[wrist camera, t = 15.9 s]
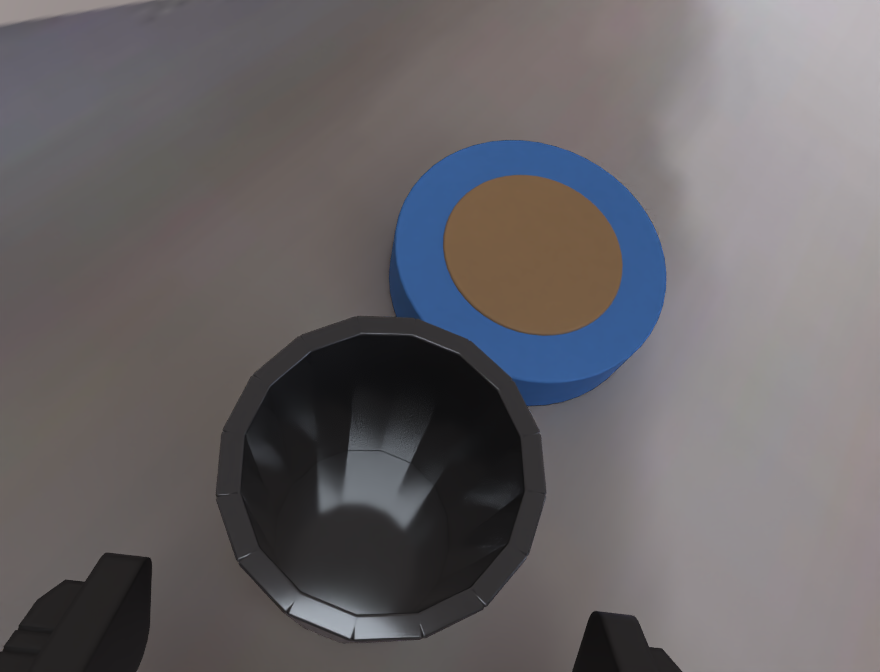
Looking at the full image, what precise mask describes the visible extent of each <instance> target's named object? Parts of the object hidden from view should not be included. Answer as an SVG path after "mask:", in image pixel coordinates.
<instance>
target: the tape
mask: <svg viewBox="0 0 880 672" xmlns="http://www.w3.org/2000/svg"><path fill="white" fill-rule="evenodd" d="M389 283H390V294H391V298H392V303H393V307H394V310H395V313H396V316H397V317H408V318H415V319H420V320H422V321H425V322H427V323H430V324H432V325H434V326H437V327H439V328H442V329H444V330H447V331H449V332H452V333H454V334H457V335H459V336H462V337H464V338H467V339H468V340H469V341H472V342H473V343H474V344H475V345H476V346H477V347H478V348H480V349H481V350H482V351H483V352H484V353H485V354H486V355H487V356H488V357H489V358H490V359H492V360H493V361H494V362H495V363H496V364H497V365H498V366H499V367H500V368H501V369H503V370H504V371H505V372H506V373H507V374H508V375H509V376H510V377H511V378H512V379H513V380H512V381H514V382H515V384H516V386H517V388H518V390H519V392H520V394H521V395H522V397H523V399H524V401H525V403H526V405H527V406H534V405H548V404H553V403H559V402H563V401H566V400H569V399H572V398H575V397H578V396H580V395H582V394H584V393H586V392H588V391H590V390H592V389H594V388H595V387H597V386H598V385H599V384H601V383H602V382H604V381H605V380H606V379H607V378H608V377H609V376H610V375H611V374H612V373H613V372H615V371H616V370H617V369H618V368H619V367H620V366H621V365H622V364H623V363H624V362H625V361H626V360H627V359H628V358H629V357H630V356H631V355H632V354H633V353H634V352H635V351H637V350H638V349H639V348H640V347H641V346H642V344H643V343H644V342H645V340H646V339H647V338H648V336H649V335H650V334H651V332H652V330H653V328H654V326H655V324H656V323H657V321H658V318H659V316H660V313H661V310H662V307H663V303H664V297H665V291H666V267H665V258H664V254H663V250H662V247H661V243H660V240H659V238H658V235H657V233H656V230H655V228H654V226H653V224H652V222H651V221H650V219H649V217H648V215H647V213H646V212H645V211H644V209H643V208H642V206H641V205H640V204H639V202H638V201H637V200H636V198H635V197H634V196H633V195H632V194H631V193H630V192H629V191H628V189H627V188H626V187H624V186H623V185H622V184H621V183H620V182H619V181H618V180H617V179H616V178H615V177H613V176H612V175H611V174H609V173H608V172H606V171H605V170H604V169H602V168H601V167H599V166H598V165H596V164H594V163H593V162H591V161H589V160H587V159H586V158H584V157H581V156H579V155H577V154H575V153H573V152H570V151H567V150H564V149H562V148H559V147H556V146H552V145H547V144H543V143H539V142H531V141H523V140H503V141H492V142H486V143H482V144H477V145H473V146H470V147H467V148H465V149H462V150H459V151H457V152H455V153H453V154H451V155H449V156H447V157H445V158H444V159H442V160H441V161H439V162H438V163H436V164H435V165H434V166H432V167H431V168H430V169H429V170H428V171H427V172H426V173H425V174H424V175H423V176H421V178H420V179H419V180H418V181H417V183H416V184H415V185H414V186H413V187H412V189H411V191H410V192H409V194H408V196H407V198H406V199H405V201H404V203H403V206H402V209H401V211H400V214H399V217H398V221H397V226H396V230H395V236H394V242H393V248H392V255H391V261H390V272H389Z"/></svg>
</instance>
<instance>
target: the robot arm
mask: <svg viewBox="0 0 880 672" xmlns="http://www.w3.org/2000/svg"><path fill="white" fill-rule="evenodd" d="M151 579H152V562H151V559H150V558H149V557H141V556H132V555H124V554H115V553H105V554H104V555H103V556H102V557H101V558H100V559H99V561H98V562H97V564H96V566H95V567H94V569H93V570H92V572H91V573H90V575H89V576H88V578H87V579H86V581H85V582H82V581H73V580H64V581H63V582H61V583H60V584H59V585H57V586H56V587H54V588H53V589H52V590H50V591H49V592H47V593H46V594H45V595H43V596H42V597H41V598H39V599H38V600H37V601H36V602H35V604H34V605H33V606H32V608H31V609H30V611H29V612H28V613H27V615H26V616H25V618H24V619H23V620H22V622H21V623H20V625H19V628H18V630H15V632H14V633H13V634H12V636H11V637H10V639H9V640H8V641H7V643H6V644H5V646H4V649H3V651H2V652H0V672H136V671H137V669H138V667H139V665H140V662H141V660H142V657H143V654H144V651H145V648H146V644H147V640H148V635H149V628H150V607H151ZM572 672H682V671H681V670H680V669H679V667H678V666H677V665H676V664H675V663H674V662H673V661H672V659H671V658H670V657H669V656H668V655H667V654H666V653H665V651H664V650H663V649H662V648H653V647H649V646H648V644H647V641H646V639H645V636H644V634H643V631H642V629H641V626H640V624H639V622H638V620H637V619H636V617H635V616H632V615H625V614H616V613H607V612H599V611H594V612H592V614H591V615H590V617H589V620H588V623H587V626H586V629H585V632H584V636H583V639H582V642H581V645H580V648H579V652H578V655H577V658H576V661H575V664H574V668H573V671H572Z"/></svg>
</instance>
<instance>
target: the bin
mask: <svg viewBox="0 0 880 672" xmlns="http://www.w3.org/2000/svg"><path fill="white" fill-rule="evenodd" d="M512 380H513V379H512V378H511V377H510V376H509V375H508V374H507V373H506V372H505V371H504V370H503V369H501V368H500V367H499V366H498V365H497V364H496V363H495V362H494V361H493V360H492V359H490V358H489V357H488V356H487V355H486V354H485V353H484V352H483V351H482V350H481V349H480V348H478V347H477V346H476V345H475V344H474V343H473V342H472V341H469V340H468V339H467V338H464V337H462V336H459V335H457V334H454V333H452V332H449V331H447V330H444V329H442V328H439V327H437V326H434V325H432V324H430V323H427V322H425V321H422V320H420V319H415V318H408V317H376V316H357V317H352V318H349V319H346V320H343V321H340V322H337V323H334V324H331V325H328V326H325V327H323V328H320V329H317V330H314V331H311V332H308V333H305V334H302V335H301V336H299V337H297V338H296V339H294V340H293V341H292V342H291V343H290V344H288V345H287V346H286V347H285V348H284V349H282V350H281V351H280V352H279V353H278V354H276V355H275V356H274V357H273V358H272V359H270V360H269V361H268V362H267V363H266V364H264V365H263V366H262V367H261V368H260V369H258V370H257V371H256V372H255V373H254V374H253V376H251V378H250V379H249V381H248V383H247V385H246V387H245V389H244V391H243V392H242V394H241V396H240V398H239V400H238V402H237V404H236V405H235V407H234V409H233V411H232V413H231V415H230V417H229V419H228V420H227V422H226V424H225V426H224V428H223V432H222V434H221V444H220V454H219V465H218V476H217V486H216V497H217V499H216V501H217V504H218V507H219V510H220V513H221V516H222V519H223V522H224V525H225V528H226V531H227V534H228V537H229V540H230V543H231V546H232V549H233V552H234V555H235V558H236V560H237V561H238V562H239V565H240V566H241V568H242V569H243V570H244V571H245V572H246V573H247V574H248V575H249V576H250V577H251V578H252V579H253V580H254V582H255V583H256V584H257V585H258V586H259V587H260V588H261V589H262V590H263V591H264V592H265V593H266V594H267V596H268V597H269V598H270V599H271V600H272V601H273V602H274V603H275V604H276V605H277V606H278V607H279V609H280V610H281V611H282V612H283V613H285V614H286V615H287V616H289V617H290V618H291V619H292V620H294V621H295V622H296V623H298V624H299V625H300V626H302V627H303V628H305V629H307V630H310V631H312V632H315V633H317V634H319V635H322V636H324V637H327V638H329V639H331V640H334V641H336V642H339V643H343V644H346V643H372V642H391V641H407V640H420V639H422V638H427V637H429V636H431V635H433V634H435V633H437V632H439V631H441V630H443V629H445V628H447V627H449V626H451V625H453V624H455V623H457V622H459V621H461V620H463V619H465V618H467V617H469V616H471V615H473V614H475V613H477V612H479V611H481V610H483V609H484V607H486V606H488V605H489V603H490V602H491V601H492V600H493V599H494V597H495V596H496V595H497V594H498V593H499V591H500V590H501V589H502V588H503V586H504V585H505V584H506V583H507V582H508V580H509V579H510V578H511V577H512V576H513V574H514V573H515V572H516V571H517V570H518V568H519V567H520V566H521V565H522V564H523V562H524V561H525V560H526V558H527V556H528V555H529V552H530V549H531V546H532V542H533V539H534V536H535V532H536V529H537V526H538V522H539V519H540V516H541V512H542V509H543V506H544V502H545V499H546V483H545V473H544V462H543V452H542V442H541V435H540V434H539V433H540V431H539V429H538V427H537V425H536V423H535V421H534V419H533V417H532V415H531V413H530V411H529V409H528V407H527V405H526V403H525V401H524V399H523V397H522V395H521V394H520V392H519V390H518V388H517V386H516V384H515V382H514V381H512Z"/></svg>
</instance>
